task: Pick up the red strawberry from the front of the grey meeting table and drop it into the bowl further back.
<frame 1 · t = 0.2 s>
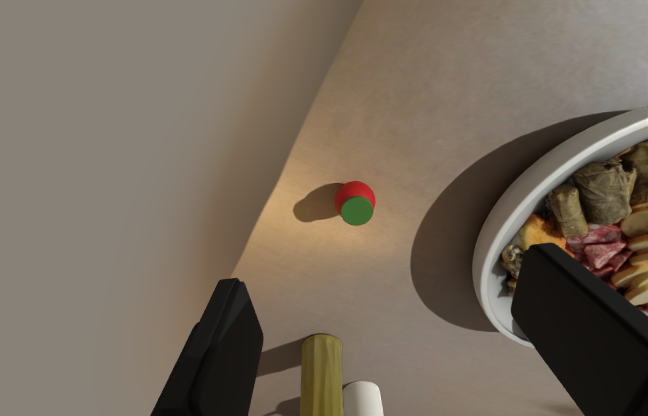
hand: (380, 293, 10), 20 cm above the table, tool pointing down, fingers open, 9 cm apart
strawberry: (352, 191, 30), on the table
bowl: (591, 230, 32), on the table
candle: (361, 390, 48), on the table
vase: (321, 345, 42), on the table
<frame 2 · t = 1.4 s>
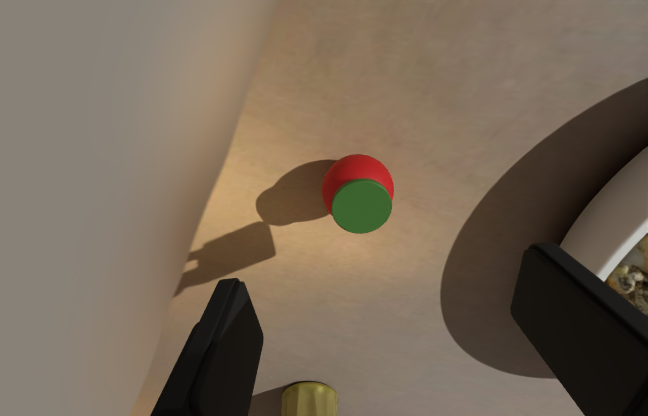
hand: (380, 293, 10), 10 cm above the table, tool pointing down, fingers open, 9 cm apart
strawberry: (353, 175, 18), on the table
vase: (309, 394, 30), on the table
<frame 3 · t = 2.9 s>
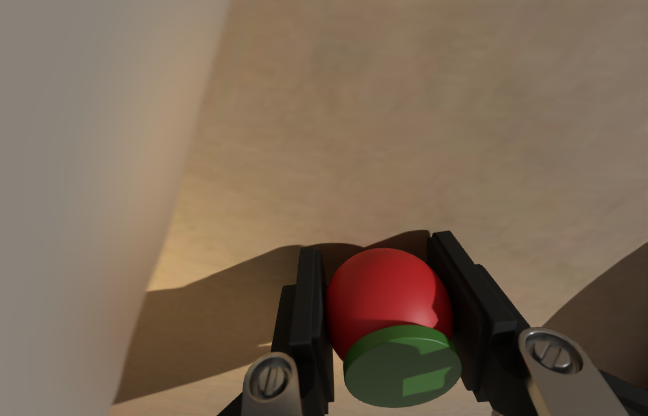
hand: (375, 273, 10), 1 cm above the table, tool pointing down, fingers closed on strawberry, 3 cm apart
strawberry: (372, 263, 11), on the table, touching gripper
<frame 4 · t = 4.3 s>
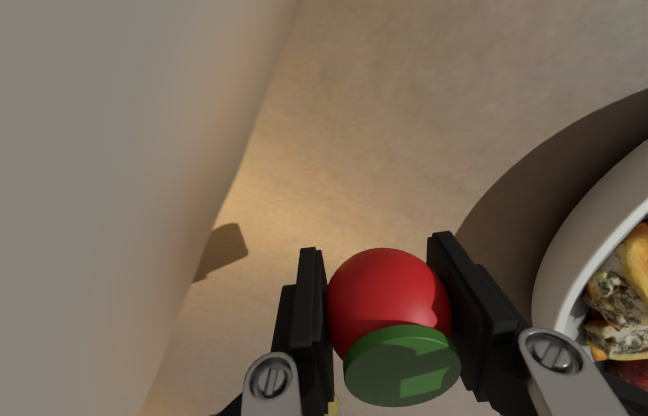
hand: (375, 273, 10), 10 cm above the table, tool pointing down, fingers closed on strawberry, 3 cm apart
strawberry: (372, 263, 11), point 9 cm above the table, touching gripper
vase: (311, 400, 31), on the table
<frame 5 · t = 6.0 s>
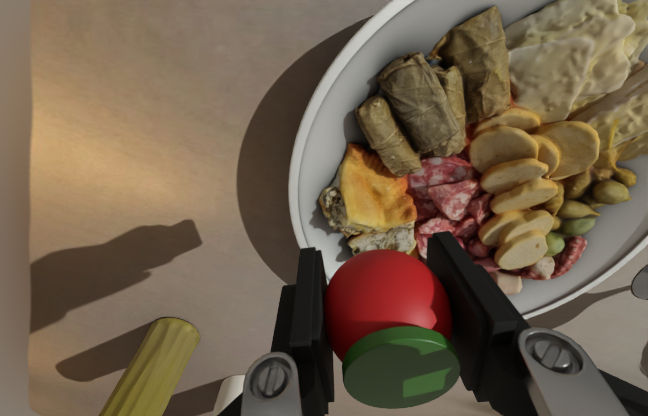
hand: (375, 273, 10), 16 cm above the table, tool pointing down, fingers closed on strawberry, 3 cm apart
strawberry: (372, 264, 11), point 15 cm above the table, touching gripper
bowl: (458, 175, 25), on the table
candle: (244, 386, 41), on the table
vase: (176, 331, 35), on the table
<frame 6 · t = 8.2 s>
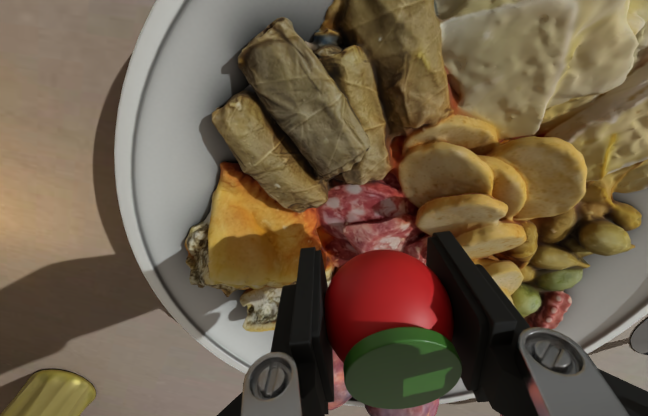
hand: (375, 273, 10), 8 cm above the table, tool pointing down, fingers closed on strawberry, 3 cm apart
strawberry: (372, 265, 11), point 8 cm above the table, touching gripper
bowl: (399, 203, 19), on the table
vase: (66, 384, 28), on the table
when the fingers open (7 cm above the table, at t = 9.0 s): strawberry moves 1 cm and tips over, resting on bowl.
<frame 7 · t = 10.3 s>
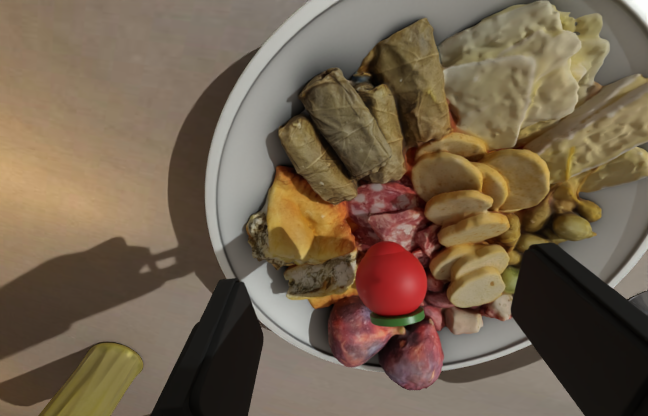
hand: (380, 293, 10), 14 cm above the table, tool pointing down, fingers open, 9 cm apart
wine glass: (647, 312, 29), on the table
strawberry: (382, 241, 16), point 7 cm above the table, tilted 56°, touching bowl
bowl: (410, 201, 23), on the table, touching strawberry
vase: (118, 357, 33), on the table
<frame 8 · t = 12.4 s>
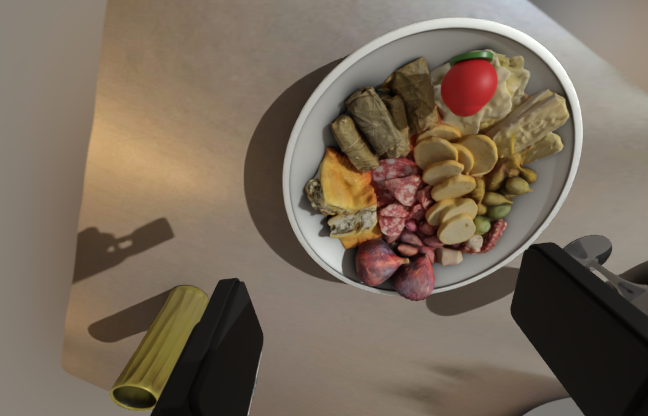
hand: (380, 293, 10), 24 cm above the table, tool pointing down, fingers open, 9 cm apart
wine glass: (582, 255, 39), on the table
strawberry: (464, 116, 23), point 8 cm above the table, tilted 104°, touching bowl
bowl: (412, 172, 33), on the table, touching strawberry
vase: (190, 298, 43), on the table
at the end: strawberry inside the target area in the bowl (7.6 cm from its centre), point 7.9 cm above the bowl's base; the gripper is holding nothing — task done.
